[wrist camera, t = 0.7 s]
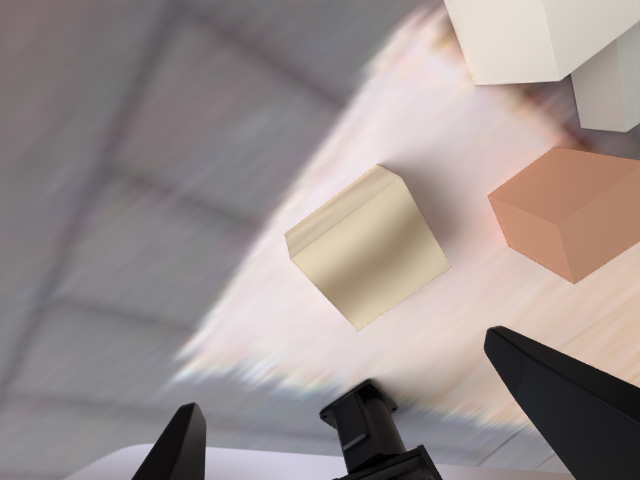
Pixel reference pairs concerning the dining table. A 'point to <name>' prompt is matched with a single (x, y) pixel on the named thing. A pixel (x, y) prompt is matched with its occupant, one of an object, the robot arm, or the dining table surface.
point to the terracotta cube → (571, 210)
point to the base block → (367, 247)
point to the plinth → (610, 85)
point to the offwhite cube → (535, 35)
